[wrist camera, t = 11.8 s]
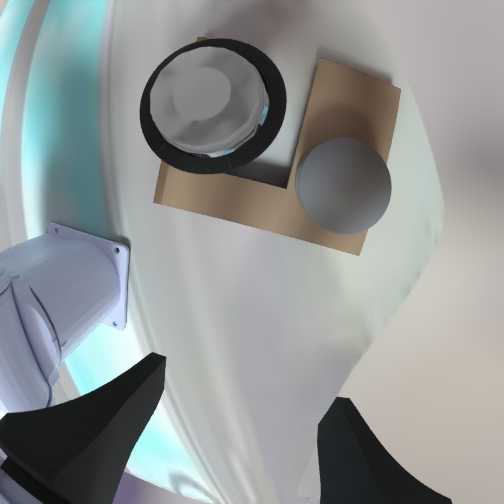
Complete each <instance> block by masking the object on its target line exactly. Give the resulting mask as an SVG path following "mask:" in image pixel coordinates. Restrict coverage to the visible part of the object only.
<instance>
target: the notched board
mask: <svg viewBox="0 0 504 504" xmlns="http://www.w3.org/2000/svg"><path fill="white" fill-rule="evenodd" d="M202 40H207V38H205V37H198V38H197V41H196V42H198V41H202ZM400 93H401V89H400V88H398V87H395V86H393V85H391V84H389V83H387V82H384V81H382V80H380V79H377V78H375V77H373V76H370V75H368V74H365V73H363V72H360V71H357V70H355V69H352V68H349V67H346V66H344V65H341V64H338V63H335V62H331V61H328V60H325V59H322V58H320V59H319V62H318V64H317V67H316V71H315V75H314V79H313V83H312V87H311V91H310V95H309V99H308V103H307V107H306V111H305V115H304V119H303V123H302V127H301V131H300V135H299V139H298V142H297V146H296V150H295V154H294V158H293V162H292V165H291V169H290V173H289V177H288V181H287V184H286V188H283V187H280V186H276V185H272V184H268V183H264V182H260V181H256V180H252V179H248V178H244V177H240V176H236V175H231V174H227V173H220V174H206V175H203V174H193V173H188V172H184V171H181V170H178V169H176V168H174V167H172V166H170V165H168V164H167V163H165V162H164V161H163V160H161V165H160V170H159V175H158V180H157V185H156V190H155V196H154V202H153V203H157V204H162V205H166V206H170V207H174V208H179V209H183V210H187V211H191V212H195V213H199V214H203V215H207V216H211V217H215V218H219V219H223V220H227V221H231V222H235V223H239V224H243V225H247V226H251V227H255V228H259V229H262V230H266V231H270V232H274V233H278V234H281V235H285V236H289V237H292V238H296V239H300V240H304V241H307V242H311V243H314V244H318V245H322V246H325V247H329V248H332V249H336V250H340V251H343V252H347V253H350V254H354V255H357V256H359V255H360V252H361V249H362V246H363V243H364V240H365V237H366V234H367V231H368V229H369V228H370V227H372V226H373V225H374V224H375V223H377V222H378V221H379V219H380V218H381V217H382V216H383V214H384V213H385V211H386V209H387V207H388V204H389V201H390V197H391V178H390V174H389V170H388V168H387V166H386V164H387V160H388V155H389V151H390V147H391V142H392V137H393V132H394V127H395V122H396V117H397V111H398V106H399V99H400Z"/></svg>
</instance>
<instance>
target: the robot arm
mask: <svg viewBox="0 0 504 504" xmlns="http://www.w3.org/2000/svg"><path fill="white" fill-rule="evenodd" d="M57 229H58V231H57ZM117 248H119V251H120V252H118V251H117ZM128 264H129V248H128V247H127V246H126V245H123V244H120V243H117V242H113V241H110V240H107V239H104V238H100V237H97V236H94V235H91V234H87V233H84V232H81V231H78V230H75V229H72V228H69V227H65V226H62V225H59V224H56V223H53V222H50V223H48V224H47V233H46V234H43V235H41V236H38V237H36V238H33V239H30V240H28V241H25V242H23V243H20V244H18V245H15V246H13V247H10V248H8V249H6V250H4V251H3V252H1V253H0V448H1V449H2V450H3V452H5V454H6V455H7V456H8V457H7V458H6V460H4V459H3V458H2V457H1V456H0V504H112V503H113V499H114V497H115V494H116V491H117V488H118V484H119V482H120V479H121V477H122V474H123V472H124V469H125V466H126V464H127V462H128V459H129V457H130V454H131V452H132V450H133V448H134V446H135V444H136V442H137V441H138V439H139V437H140V436H141V434H142V432H143V430H144V429H145V427H146V425H147V423H148V422H149V420H150V418H151V416H152V415H153V413H154V411H155V409H156V407H157V405H158V403H159V400H160V398H161V395H162V393H163V390H164V382H165V367H166V357H165V356H162V355H159V354H156V353H154V352H152V353H150V354H148V355H147V356H146V357H145V358H143V359H142V360H141V361H139V362H138V363H137V364H135V365H134V366H133V367H131V368H130V369H128V370H127V371H125V372H124V373H122V374H121V375H119V376H118V377H116V378H115V379H113V380H112V381H110V382H108V383H106V384H105V385H103V386H101V387H99V388H97V389H96V390H94V391H92V392H90V393H87V394H85V395H83V396H81V397H78V398H76V399H73V400H70V401H67V402H65V403H62V404H58V405H55V395H54V391H53V389H52V386H53V385H54V384H55V383H56V381H57V380H58V379H59V378H60V376H59V373H58V366H59V365H60V364H61V363H62V362H63V361H64V360H65V359H66V358H67V357H68V356H69V355H70V354H71V353H72V352H73V351H74V350H75V349H76V348H77V347H78V346H79V345H80V344H81V343H82V342H83V341H84V340H85V339H86V338H87V337H88V336H89V335H90V334H91V333H92V332H93V331H94V330H95V329H96V328H97V327H98V326H99V325H100V324H101V323H104V324H106V325H109V326H111V327H113V328H116V329H118V330H124V329H125V328H126V299H127V278H128ZM115 322H116V323H117V324H116V323H115ZM317 448H318V458H319V470H320V482H321V497H320V504H452V501H451V499H450V498H447V497H445V496H443V495H441V494H439V493H437V492H435V491H434V490H432V489H430V488H428V487H427V486H425V485H424V484H423V483H421V482H420V481H418V480H417V479H416V478H415V477H413V476H412V475H411V474H410V473H408V472H407V471H406V470H405V469H404V468H403V467H402V466H401V465H400V464H399V463H398V462H397V461H396V460H395V459H394V458H393V457H392V456H391V455H390V454H389V453H388V452H387V451H386V449H385V448H384V447H383V445H382V444H381V443H380V441H379V440H378V439H377V438H376V436H375V435H374V433H373V432H372V431H371V429H370V428H369V426H368V425H367V423H366V422H365V421H364V419H363V418H362V416H361V415H360V413H359V411H358V410H357V408H356V407H355V406H354V404H353V403H352V401H351V400H350V398H342V397H336V399H335V400H334V402H333V403H332V405H331V407H330V408H329V409H328V411H327V412H326V414H325V415H324V417H323V418H322V420H321V421H320V423H319V424H318V436H317Z"/></svg>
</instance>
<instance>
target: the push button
mask: <svg viewBox="0 0 504 504" xmlns="http://www.w3.org/2000/svg"><path fill="white" fill-rule="evenodd" d="M286 103H287V98H286V89H285V84H284V81H283V78H282V76H281V74H280V72H279V70H278V68H277V67H276V65H275V64H274V63H273V62H272V60H271V59H270V58H269V57H268V56H267V55H265V54H264V53H263V52H262V51H260V50H259V49H257V48H255V47H253V46H251V45H249V44H247V43H244V42H241V41H237V40H232V39H219V38H218V39H207V40H202V41H198V42H195V43H192V44H189V45H187V46H185V47H183V48H181V49H179V50H177V51H175V52H174V53H173V54H171V55H170V56H169V57H167V58H166V59H165V60H164V61H163V62H162V63H161V64H160V65H159V66H158V67H157V68H156V70H155V71H154V72H153V74H152V75H151V77H150V78H149V80H148V82H147V84H146V86H145V89H144V91H143V94H142V98H141V103H140V123H141V128H142V132H143V134H144V137H145V139H146V141H147V143H148V145H149V146H150V148H151V149H152V151H153V152H154V153H155V154H156V155H157V156H158V157H159V158H160V159H161V160H163V161H164V162H165V163H167V164H168V165H170V166H172V167H174V168H176V169H178V170H181V171H184V172H188V173H193V174H203V175H206V174H220V173H225V172H229V171H232V170H235V169H238V168H240V167H242V166H245V165H246V164H248V163H250V162H251V161H253V160H254V159H256V158H257V157H258V156H260V155H261V154H262V153H263V152H264V151H265V150H266V149H267V148H268V147H269V146H270V145H271V143H272V142H273V140H274V139H275V138H276V136H277V134H278V132H279V130H280V128H281V126H282V123H283V120H284V116H285V111H286ZM188 152H190V153H200V154H201V155H203V156H204V157H206V158H199V157H197V156H194V155H192V154H190V153H188Z"/></svg>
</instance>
